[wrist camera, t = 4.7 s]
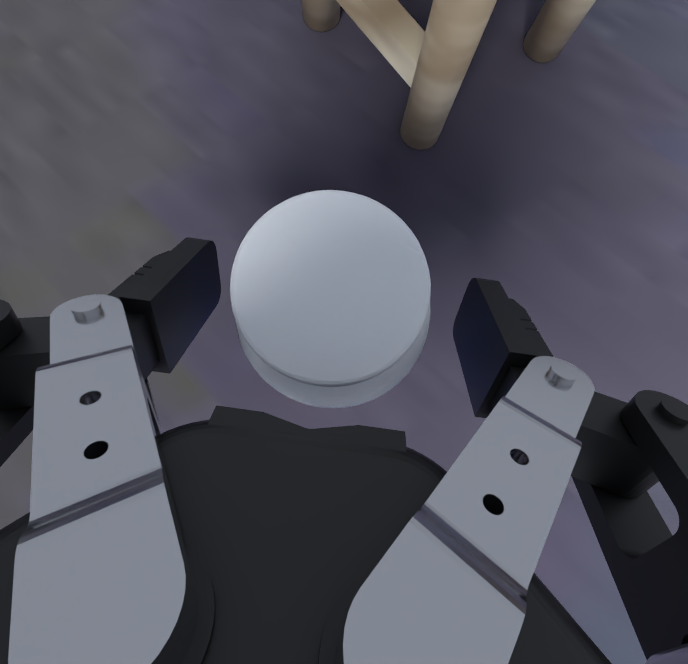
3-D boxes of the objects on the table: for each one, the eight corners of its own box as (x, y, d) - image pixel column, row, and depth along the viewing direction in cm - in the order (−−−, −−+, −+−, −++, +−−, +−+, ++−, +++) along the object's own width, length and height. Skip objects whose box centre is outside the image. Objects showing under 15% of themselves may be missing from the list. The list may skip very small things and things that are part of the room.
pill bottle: (381, 272, 17) (442, 133, 7) (402, 384, 16) (499, 396, 6) (270, 289, 17) (177, 169, 7) (286, 403, 16) (207, 445, 6)
